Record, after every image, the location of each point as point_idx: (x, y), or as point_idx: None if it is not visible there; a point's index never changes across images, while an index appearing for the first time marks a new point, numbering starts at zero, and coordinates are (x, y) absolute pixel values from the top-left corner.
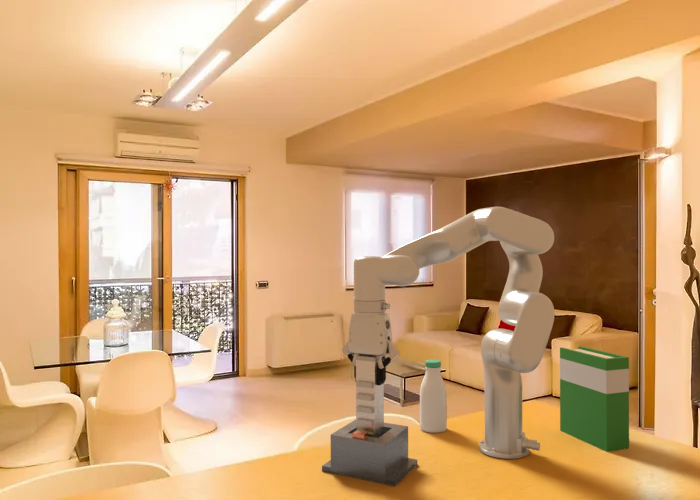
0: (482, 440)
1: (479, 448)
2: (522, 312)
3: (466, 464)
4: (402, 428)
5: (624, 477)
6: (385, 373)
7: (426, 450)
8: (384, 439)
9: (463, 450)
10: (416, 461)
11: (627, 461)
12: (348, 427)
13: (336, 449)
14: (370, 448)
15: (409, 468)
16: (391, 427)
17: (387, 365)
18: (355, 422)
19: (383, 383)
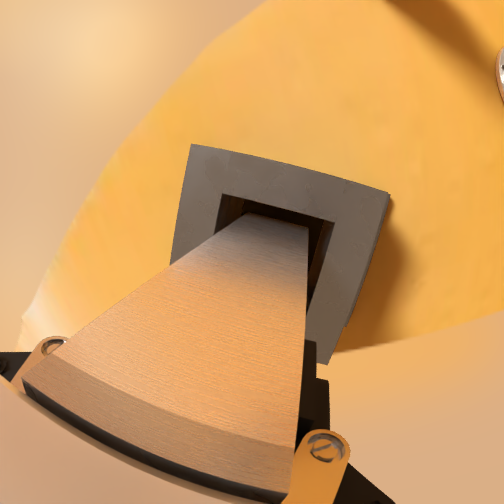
0: (501, 55)
1: (501, 91)
2: None
3: (484, 175)
4: (371, 220)
5: None
6: (326, 412)
7: (395, 94)
8: (323, 333)
9: (471, 89)
10: (388, 200)
11: None
12: (188, 247)
13: None
14: None
15: (374, 246)
16: (332, 216)
17: (346, 443)
18: (195, 190)
19: (305, 308)
